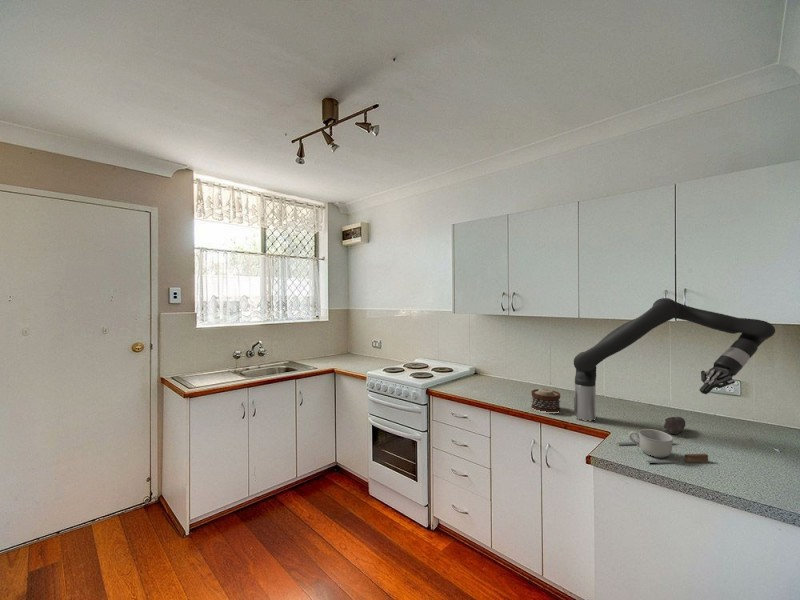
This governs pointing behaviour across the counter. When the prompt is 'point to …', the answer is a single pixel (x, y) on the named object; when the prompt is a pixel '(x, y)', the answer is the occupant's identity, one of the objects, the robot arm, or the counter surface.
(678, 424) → the perforated stone tool
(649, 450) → the teacup
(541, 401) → the chocolate cake
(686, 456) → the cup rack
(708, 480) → the counter surface
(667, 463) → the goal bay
